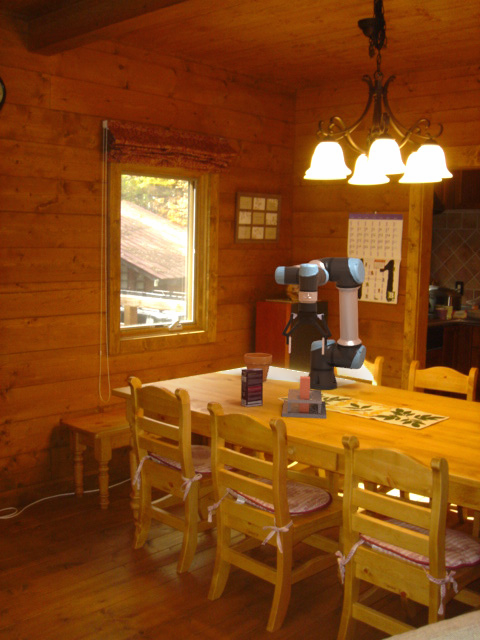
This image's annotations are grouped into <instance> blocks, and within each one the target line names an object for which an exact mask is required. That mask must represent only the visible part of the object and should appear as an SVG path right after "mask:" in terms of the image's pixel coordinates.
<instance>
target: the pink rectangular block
mask: <svg viewBox="0 0 480 640" xmlns="http://www.w3.org/2000/svg"><path fill="white" fill-rule="evenodd" d="M299 389H300V399H309V395H310V389H311V388H310V377H308V376H305V375H304V376H303V375H302V376H301V375H300V377H299ZM299 411H300V412H309V403H299Z"/></svg>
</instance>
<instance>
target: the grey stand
mask: <svg viewBox="0 0 480 640" xmlns="http://www.w3.org/2000/svg"><path fill="white" fill-rule="evenodd" d="M322 398H323V397H322V390H321V389H312V388H310V395H309V399H300V388H295V389H294V388H288V392H287V399H286V400H285V399H284V400H283V405H282V410H281V417H284V418H306V419H310V418H311V419H327V407H326V401H323V399H322ZM299 403H309V412H300V411H299Z"/></svg>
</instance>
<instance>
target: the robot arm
mask: <svg viewBox="0 0 480 640" xmlns="http://www.w3.org/2000/svg"><path fill="white" fill-rule="evenodd" d="M365 276H366V270H365V265H364V262H363V260H361V259H360V258H357V257H345V256H344V257H343V256H339V257H338V256H337V257H336V256H334V257H333V256H330V257H329V256H328V257H322V258H318V259H313V260H310V261H309V262H308V263H301V264H297V265H293V266H292V265H291V266H278V267H276V269H275V272H274V279H275V282H276V283H277V284H279V285H293V286H295V285H296V286H298V301H299V302H298V307H297V308H298V309H297V312H298V313H294V312H291V313H290V317H289V319H288V321H287V324H286V325H285V327H284V329H283V331H282V333H281V335H282V336H284V337H285V343H286V345H287V346H288V354H291V352H292V337H291V335H292V334H293V333H294V332H295V331H296V330H297V329H298V327H299V326H300V325H301V324H302V325H304V326H305V325H308V326H312V325H314V326H315V328H316V330H318V331H319V333H320V334H321V336H322V339H321V340H320V339H319V340H316V341H315V340H314V341H313V342H312V343H311V347H310V368H309V373H308V376H307V377H310V389H311V390H321V391H323V390H325V391H327V390H328V391H329V390H334V389H337V388H338V382H337V381H338V380H337V377H336V374H335V368H340V369H350V370H359V369H361V368H362V367H363V365H364V363H365V359H366V354H367V347H366V346H365V345H364V344H363V341H362V340H361V339H360V338H359V309H358V308H359V307H358V305H359V302H358V301H359V300H358V299H359V298H358V295H359V294H358V293H359V292H358V290H359V289H360V288H361V286H362V284H363V283H364V282H365ZM328 282H329V283H335V288H336V289H338V294H339V297H338V298H339V299H338V300H339V301H338V302H339V305H338V306H339V333H340V335H339V337H340V338H339V339H338V340H337V341H336V340H335V339H328V338H332V335H333V334H332V333H331V329H330V328H329V326H328V324H327V322H326V320H325V314H324V313H321V314H318V313H317V311H318V303H317V302H318V287H322V286H324V285H326V284H327V283H328ZM296 318H297V319H298V321H297V322H296V323H295V324H294V325H293V326H292V328H291V329H290V330H289V328H290V326H291V324H292V323H293V320H294V319H296ZM318 318H319V320H321V322H322V324H323V326H324V329H325V331H326V332H325V331H324V330H323V329H322V327H321V326H320V325H319V324H318V322H317V319H318ZM288 330H289V331H288Z"/></svg>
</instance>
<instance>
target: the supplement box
mask: <svg viewBox="0 0 480 640" xmlns="http://www.w3.org/2000/svg"><path fill="white" fill-rule="evenodd" d="M240 373H241V375H240V376H241V378H240V379H241V380H240V382H241V383H240V385H241V386H240V387H241V389H240V405H241V406H243V407H245V408H249V407H257V406H263V401H264V400H263V395H264V393H263V391H264V390H263V389H264V381H263V369H260V368H252V369H247V368H243V369H242V368H241V372H240Z"/></svg>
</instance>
